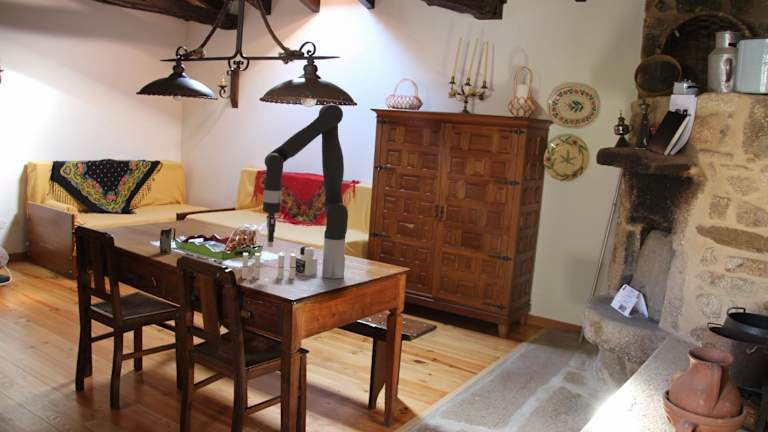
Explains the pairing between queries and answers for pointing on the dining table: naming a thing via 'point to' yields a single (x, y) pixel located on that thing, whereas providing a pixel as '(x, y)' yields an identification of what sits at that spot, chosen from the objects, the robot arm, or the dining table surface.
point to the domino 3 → (269, 244)
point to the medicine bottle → (306, 262)
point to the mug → (166, 241)
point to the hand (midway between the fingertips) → (270, 240)
